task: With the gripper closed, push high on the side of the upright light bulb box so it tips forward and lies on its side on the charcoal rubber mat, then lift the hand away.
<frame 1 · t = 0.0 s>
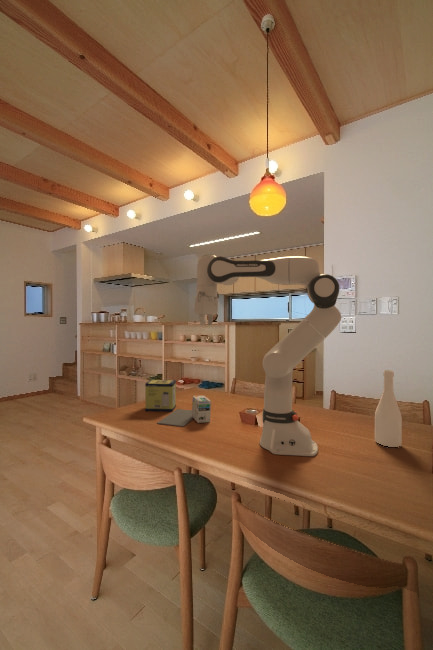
hand: (206, 325, 128), 48 cm above the table, tool pointing down, fingers open, 8 cm apart
light bulb box: (200, 419, 149), on the table, touching rubber mat
protein box: (160, 409, 168), on the table
wine bottle: (387, 444, 121), on the table
rubber mat: (180, 417, 152), on the table
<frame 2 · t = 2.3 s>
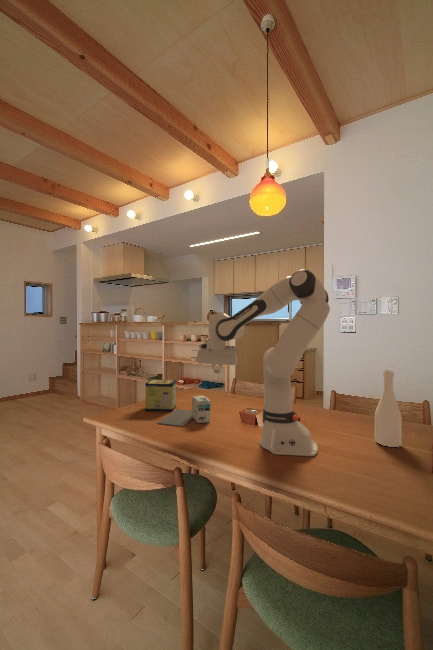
hand: (217, 373, 146), 24 cm above the table, tool pointing down, fingers closed
nothing on the table moved.
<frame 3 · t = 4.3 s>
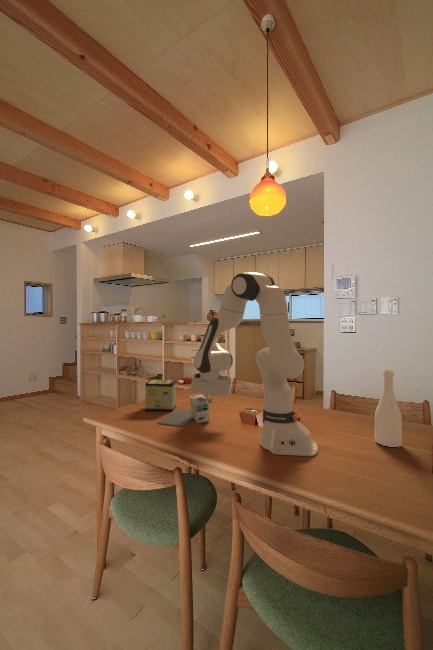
hand: (210, 402, 147), 9 cm above the table, tool pointing down, fingers closed
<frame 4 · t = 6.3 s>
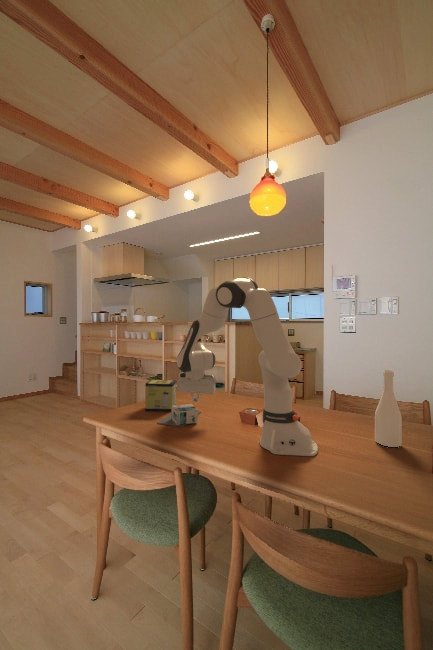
hand: (195, 401, 150), 9 cm above the table, tool pointing down, fingers closed
light bulb box: (195, 413, 148), point 4 cm above the table, touching rubber mat
everything else where it was.
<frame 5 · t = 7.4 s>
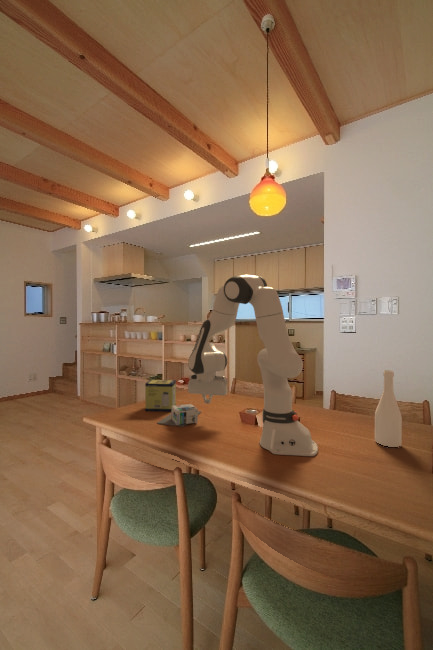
hand: (207, 402, 148), 9 cm above the table, tool pointing down, fingers closed
nothing on the table moved.
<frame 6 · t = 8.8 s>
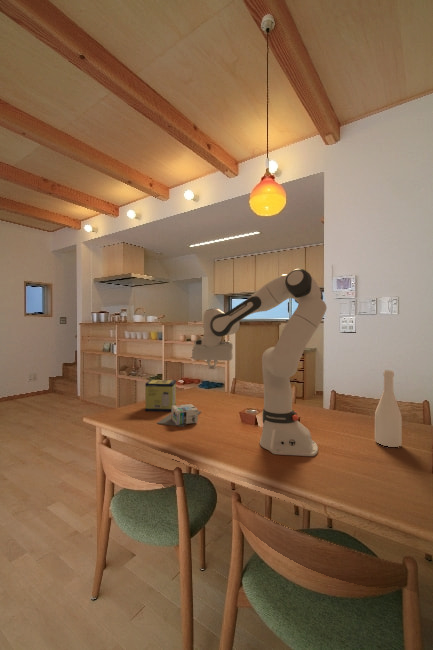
hand: (212, 369, 147), 26 cm above the table, tool pointing down, fingers closed
nothing on the table moved.
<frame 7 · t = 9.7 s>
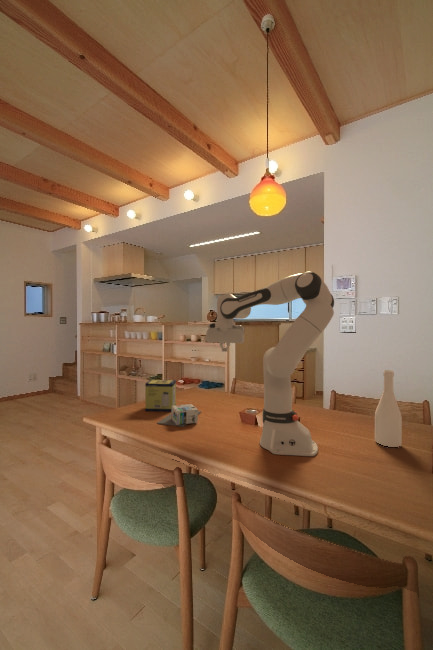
hand: (224, 351, 154), 34 cm above the table, tool pointing down, fingers closed
nothing on the table moved.
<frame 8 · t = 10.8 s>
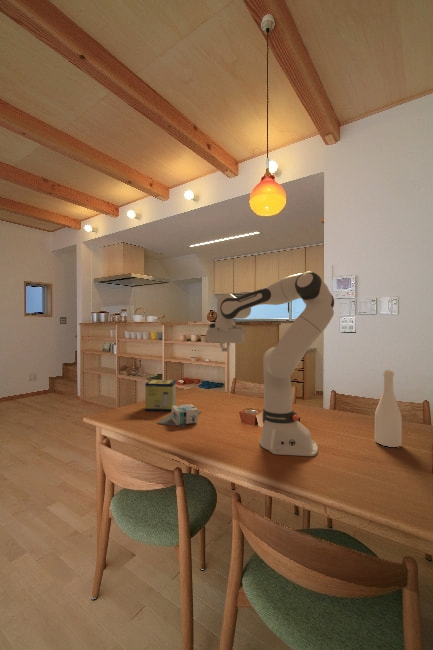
hand: (224, 351, 154), 34 cm above the table, tool pointing down, fingers closed
nothing on the table moved.
at the end: light bulb box tilted 89°; light bulb box touching rubber mat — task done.
